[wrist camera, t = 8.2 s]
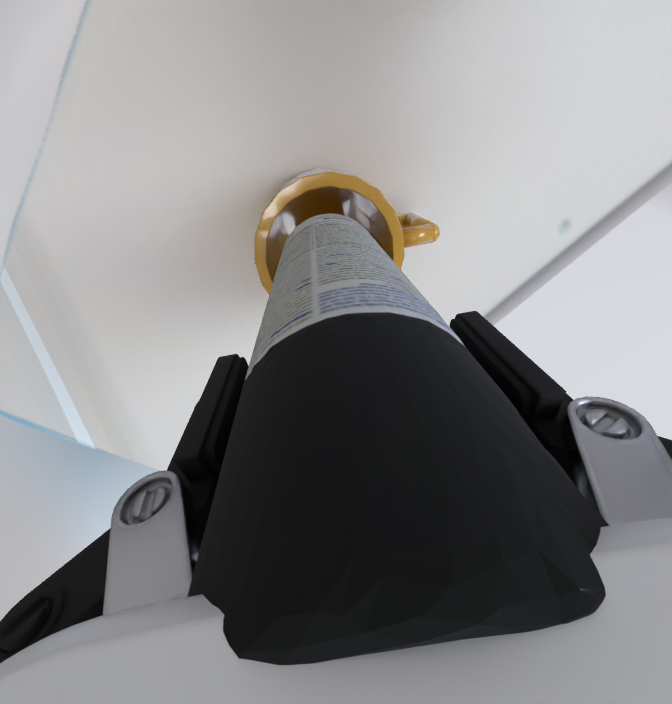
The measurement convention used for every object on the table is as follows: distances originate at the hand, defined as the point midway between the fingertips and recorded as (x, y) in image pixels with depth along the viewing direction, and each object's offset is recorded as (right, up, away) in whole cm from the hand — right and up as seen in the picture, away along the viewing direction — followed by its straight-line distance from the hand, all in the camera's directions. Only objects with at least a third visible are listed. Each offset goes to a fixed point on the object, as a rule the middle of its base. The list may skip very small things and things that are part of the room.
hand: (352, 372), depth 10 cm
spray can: (-1, +7, +11) cm, 13 cm away
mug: (0, +13, +19) cm, 23 cm away
